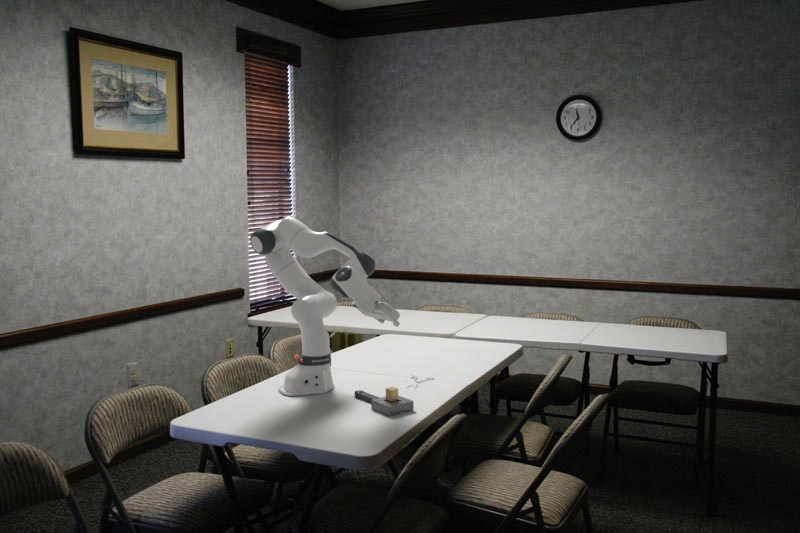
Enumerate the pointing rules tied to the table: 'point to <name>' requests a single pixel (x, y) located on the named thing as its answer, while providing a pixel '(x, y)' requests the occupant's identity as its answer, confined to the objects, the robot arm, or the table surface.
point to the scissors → (419, 381)
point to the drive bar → (391, 394)
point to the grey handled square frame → (386, 404)
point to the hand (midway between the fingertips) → (390, 323)
